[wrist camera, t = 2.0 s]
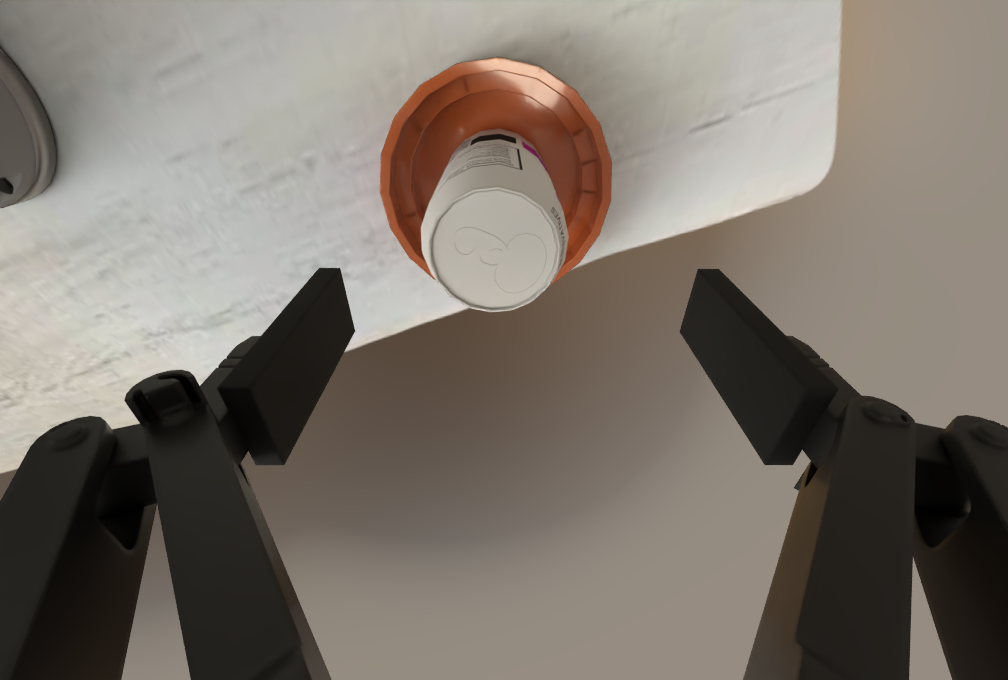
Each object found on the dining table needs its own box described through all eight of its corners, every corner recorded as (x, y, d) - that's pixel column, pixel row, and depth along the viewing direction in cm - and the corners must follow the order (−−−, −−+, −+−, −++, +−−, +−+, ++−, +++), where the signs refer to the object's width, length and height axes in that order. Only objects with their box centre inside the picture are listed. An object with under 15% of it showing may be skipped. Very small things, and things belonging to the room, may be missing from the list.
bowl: (389, 257, 38) (377, 279, 35) (398, 33, 29) (383, 30, 25) (567, 288, 40) (574, 311, 37) (629, 86, 31) (647, 91, 27)
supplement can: (564, 154, 33) (601, 214, 21) (520, 245, 37) (529, 339, 25) (468, 107, 31) (447, 143, 19) (433, 208, 36) (398, 291, 23)
